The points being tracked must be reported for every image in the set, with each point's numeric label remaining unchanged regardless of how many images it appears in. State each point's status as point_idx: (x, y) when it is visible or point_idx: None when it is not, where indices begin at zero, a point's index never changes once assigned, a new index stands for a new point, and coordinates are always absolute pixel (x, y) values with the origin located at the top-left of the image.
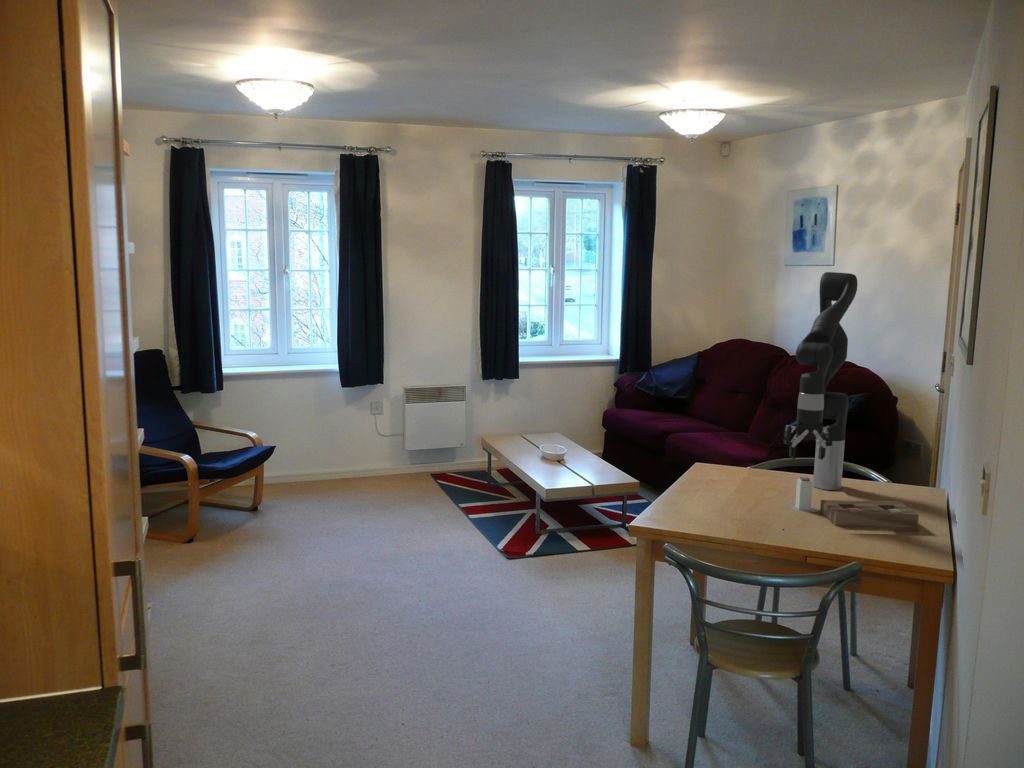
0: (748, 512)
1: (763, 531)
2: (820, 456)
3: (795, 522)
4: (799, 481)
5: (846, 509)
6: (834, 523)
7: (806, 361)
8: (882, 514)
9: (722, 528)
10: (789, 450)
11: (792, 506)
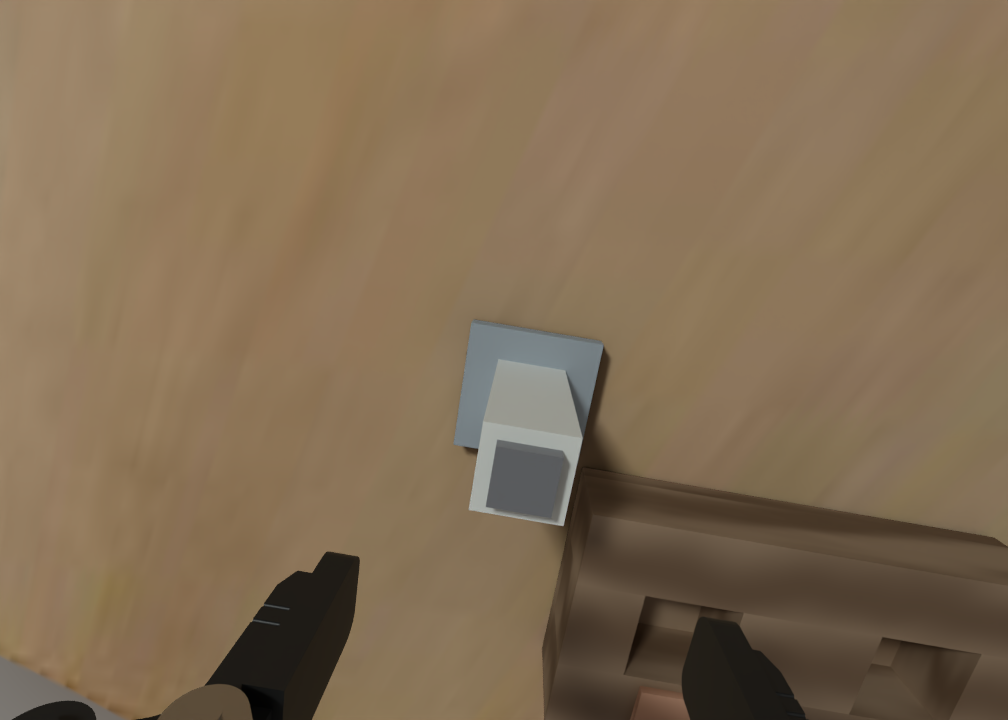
0: (224, 368)
1: (214, 625)
2: (695, 710)
3: (407, 538)
4: (475, 473)
5: (633, 687)
6: (544, 658)
7: None
8: None
9: (44, 572)
10: (242, 638)
11: (480, 360)
